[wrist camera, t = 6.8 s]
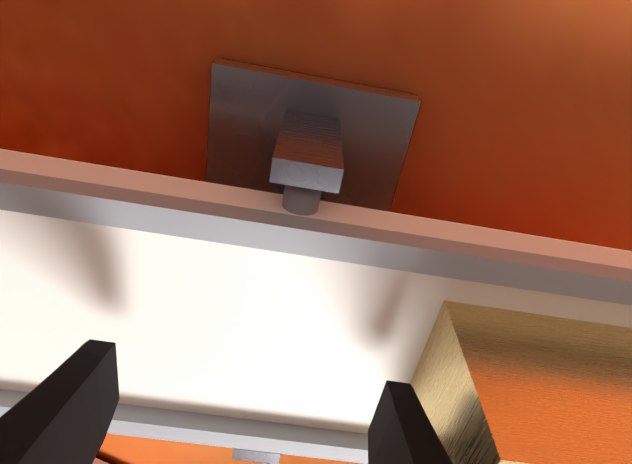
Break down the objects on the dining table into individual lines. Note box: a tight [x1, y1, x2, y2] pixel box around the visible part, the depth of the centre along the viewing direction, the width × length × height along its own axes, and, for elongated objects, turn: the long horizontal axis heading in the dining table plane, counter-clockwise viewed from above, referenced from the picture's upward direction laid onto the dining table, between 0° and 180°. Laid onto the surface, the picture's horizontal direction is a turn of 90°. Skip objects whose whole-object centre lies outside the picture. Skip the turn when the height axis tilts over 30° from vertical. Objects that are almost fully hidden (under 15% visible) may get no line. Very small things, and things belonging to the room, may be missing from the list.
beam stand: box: [206, 58, 421, 464], centre depth 15 cm, size 6×13×5 cm, turn 170°
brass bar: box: [410, 300, 632, 464], centre depth 12 cm, size 8×5×4 cm, turn 80°
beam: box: [0, 149, 632, 464], centre depth 13 cm, size 27×9×2 cm, turn 80°
